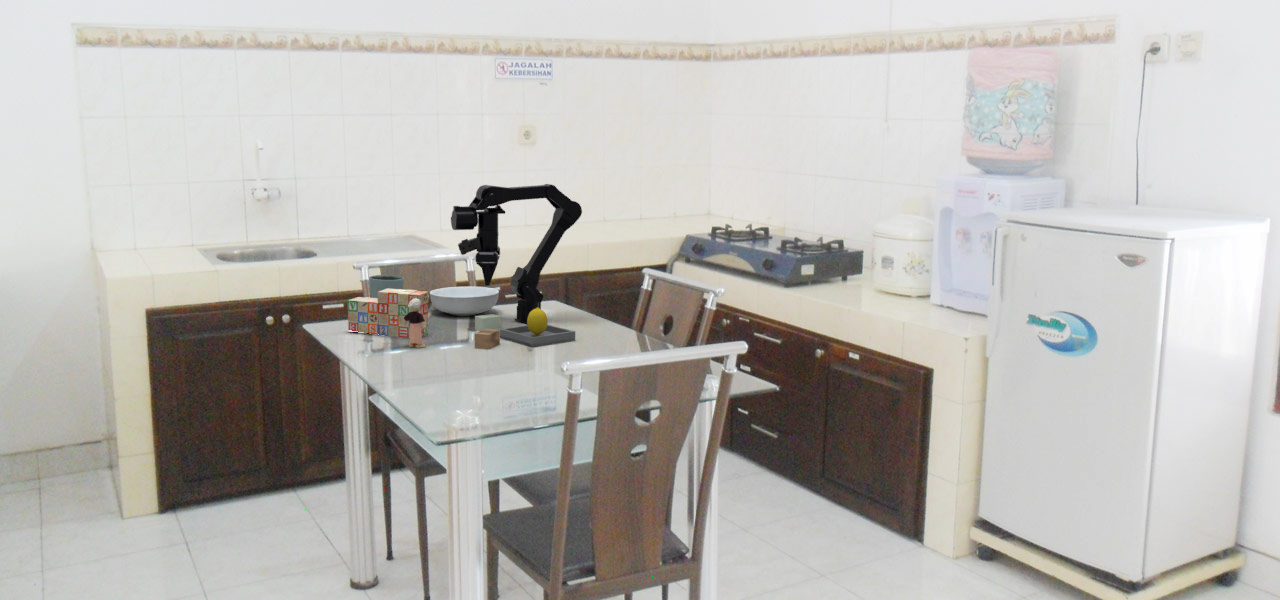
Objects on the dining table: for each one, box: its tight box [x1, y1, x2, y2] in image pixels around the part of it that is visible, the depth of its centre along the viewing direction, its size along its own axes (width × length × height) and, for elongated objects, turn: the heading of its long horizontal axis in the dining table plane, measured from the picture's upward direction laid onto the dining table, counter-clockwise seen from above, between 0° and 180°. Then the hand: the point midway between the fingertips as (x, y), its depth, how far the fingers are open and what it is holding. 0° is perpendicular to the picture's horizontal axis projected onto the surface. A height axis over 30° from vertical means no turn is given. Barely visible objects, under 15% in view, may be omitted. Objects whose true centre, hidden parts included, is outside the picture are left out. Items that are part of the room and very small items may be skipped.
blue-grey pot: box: [368, 274, 405, 298], centre depth 320 cm, size 10×10×12 cm
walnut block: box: [474, 329, 501, 350], centre depth 285 cm, size 7×4×4 cm, turn 163°
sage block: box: [474, 313, 502, 332], centre depth 306 cm, size 6×4×4 cm, turn 130°
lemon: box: [526, 307, 549, 336], centre depth 294 cm, size 6×6×8 cm
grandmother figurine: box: [403, 298, 426, 349], centre depth 281 cm, size 8×4×13 cm, turn 71°
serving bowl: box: [429, 285, 500, 317], centre depth 330 cm, size 21×21×7 cm
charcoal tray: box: [500, 324, 576, 348], centre depth 295 cm, size 15×15×2 cm
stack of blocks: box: [347, 288, 429, 339], centre depth 297 cm, size 21×6×12 cm, turn 76°
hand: (488, 282), depth 313 cm, fingers open, 9 cm apart
